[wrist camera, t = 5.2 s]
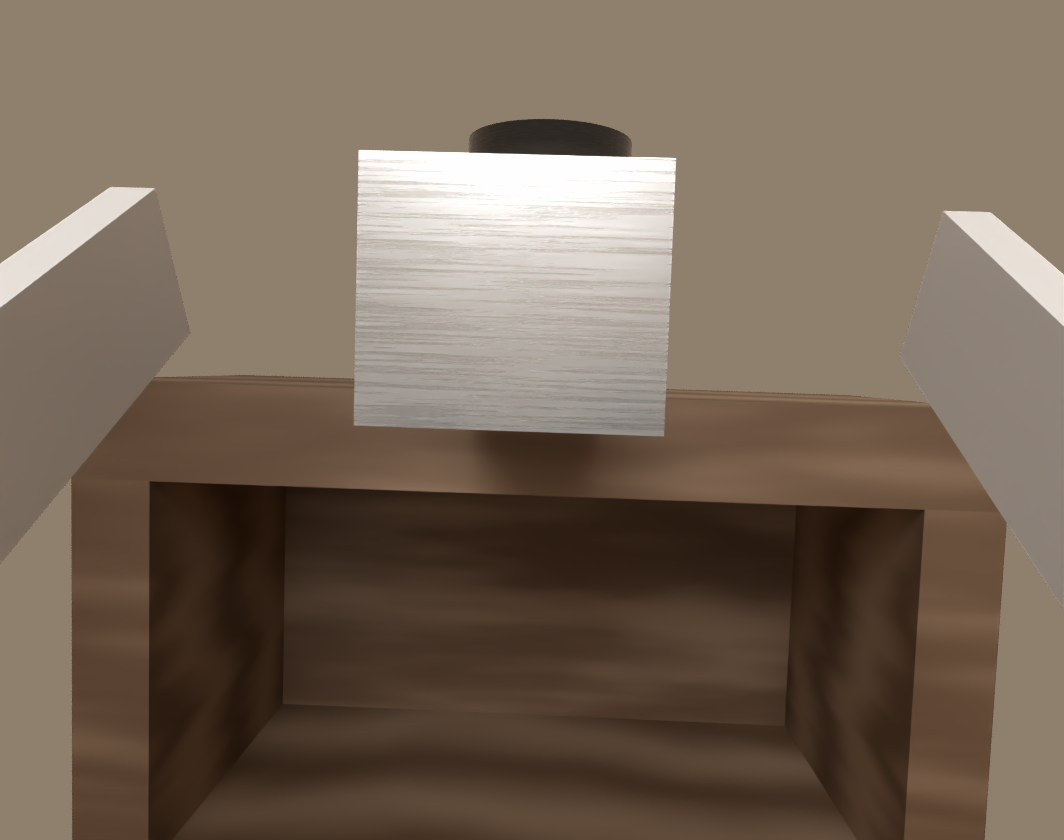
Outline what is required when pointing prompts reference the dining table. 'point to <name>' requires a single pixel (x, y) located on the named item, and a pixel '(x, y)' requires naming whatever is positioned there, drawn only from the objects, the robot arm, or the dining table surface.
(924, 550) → the walnut shelf
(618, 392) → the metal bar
